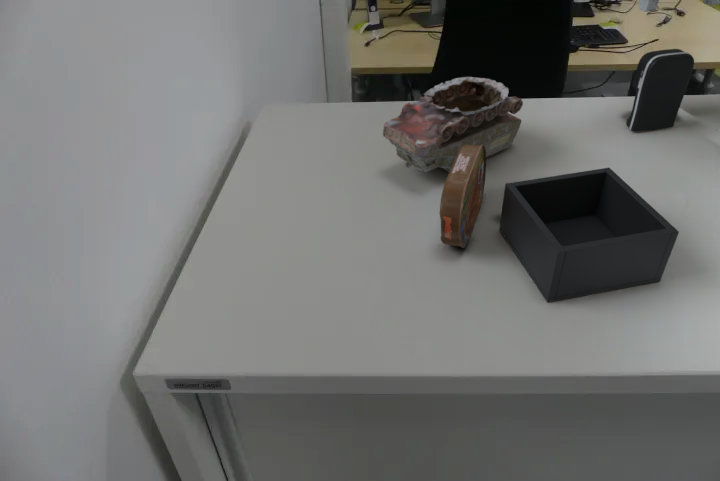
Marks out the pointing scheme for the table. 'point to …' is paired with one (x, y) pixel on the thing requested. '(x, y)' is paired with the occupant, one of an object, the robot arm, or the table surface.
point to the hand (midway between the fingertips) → (679, 7)
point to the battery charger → (659, 89)
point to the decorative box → (454, 122)
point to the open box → (585, 233)
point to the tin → (463, 195)
